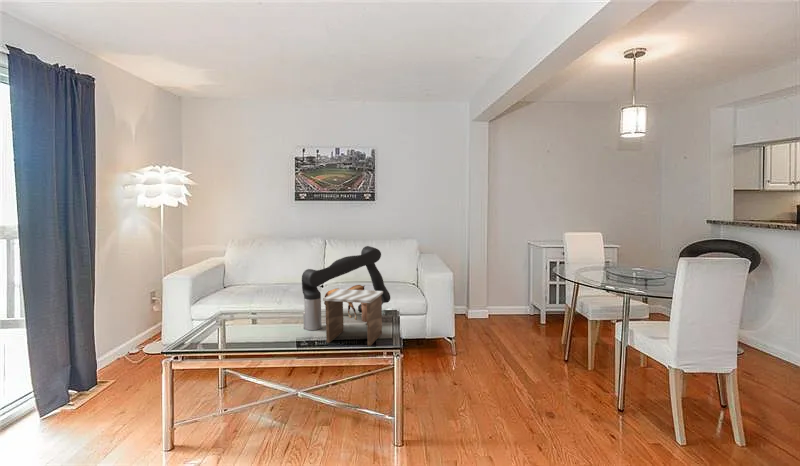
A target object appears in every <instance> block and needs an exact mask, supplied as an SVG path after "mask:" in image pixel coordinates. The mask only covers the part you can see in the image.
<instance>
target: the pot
mask: <svg viewBox="0 0 800 466" xmlns="http://www.w3.org/2000/svg"><path fill="white" fill-rule="evenodd" d="M360 304H361V308H362V312H361V322H363V323H367V303H360Z"/></svg>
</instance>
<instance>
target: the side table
mask: <svg viewBox="0 0 800 466" xmlns="http://www.w3.org/2000/svg"><path fill="white" fill-rule="evenodd" d="M348 289H349V288H347V289H346V288H345V289H344V288H343V289H342V288H339V290H337V291H335V292H333V293H332V294H330V295H328V296H326V297H325V296H324V297H323V299H322V301H325V304H324V306H325V335H326V336H325V338H326V339H325V340H326V341H325V342H326V343H328V344H330V343H331V342H332V341H333V340H335V339H336V338H337V337H338V336H340V335H341V334H342V333H344V332H345V330H344V303H347V302H353V303H360V304H361V303H367V322H366V324H367V325H366V328H367V329H366V330H367V331H366V332H367V334H366V335H367V338H366V339H367V346H368V347H371V346H372V345H373V344H374V343H375V342H376V341H377V339H379V337H381V336H382V334H383V321H382V320H383V319H382V318H383V317H382V315H383V312H382V311H383V309H382V308H383V304H382V301H381V295H382V294H383V291H375V290H371V289H370V290H366V289H364V290H348Z"/></svg>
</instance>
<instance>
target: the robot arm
mask: <svg viewBox="0 0 800 466" xmlns="http://www.w3.org/2000/svg"><path fill="white" fill-rule="evenodd" d="M381 257H382V252H381V250H379V249H378V248H376V247H373V246H371V245H370V246H368V245H366V246H364V247H362V250H361V252H360V254H359V255H358V254H357V255H349V256H343V257H341V258H339V259H336V260H334V261H333V262H332V263H331V264H330V265H329V266H327V267H325V268H321V269H318V270H317V269H312V268H307V269H305V270H304V271H303V273H302V275H301V288H302V290H301V291H302V294H303V299H304V300H303V301H304V303H303V306H304V311H303V313H302V315H303V316H302V317H303V319H302V320H303V329H304V330H307V331H316V330H320V329H322V327H323V326H322V325H323V323H322V322H323V321H322V320H323V319H322V294H321V292H320V291H319V288H318V287H319V286H322V285H323V284H325V283H326V282H329V281H330V280H333V279H335V278H339V277H340V276H343V275H346V274H349V273H350V272H352V271H356V270H358V269H361V268H363V267H365V266H366V270H367V271H368V274H369V276H370V280H371V284H372V287H373V291H383V294H382V295H381V301H382V305H383V304H385V303H386V304H387V303H389V302H390V300H391V293H390V292H389V290H388V289H387V287H386V286H385V285H386V284H385V282H384V279H383V278H384V277H383V276H382V274H381V272H380V271H379V269H378V268H377V266H376V263H377V262H379V260H380V259H381ZM357 308H358V313H359V314H362V308H361V303H360V304H359V305H358V306H357Z"/></svg>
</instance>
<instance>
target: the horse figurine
mask: <svg viewBox="0 0 800 466" xmlns="http://www.w3.org/2000/svg"><path fill="white" fill-rule="evenodd" d="M365 286H366V285H361V284H356V285H353V286H351V287H349V288H347V289H348V290H365ZM339 289H340V288H339V287H338V288H334V289H333V288H332V289H330V290H328V291H327V292H326V293H325V294H324V298H325V297H326V296H328V295H330V294H332V293H333V292H335V291H337V290H339ZM346 303H347V304H348V305H347V315H348V318H349V319H350V318H351V319H352V317H353V316H352V315H351V314H350V309H352V310H353V313H354V320H355V321H357V319H358V317H357V315H358V314H357V311H356V308H355V306H354V302H346ZM323 304H324V305H325V301H324V302H323Z"/></svg>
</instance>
